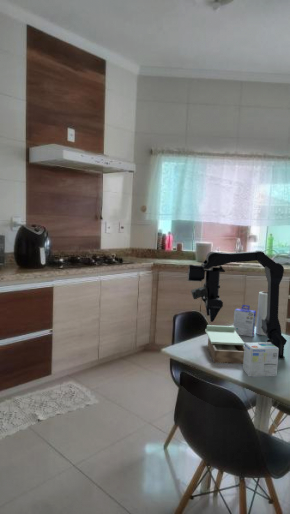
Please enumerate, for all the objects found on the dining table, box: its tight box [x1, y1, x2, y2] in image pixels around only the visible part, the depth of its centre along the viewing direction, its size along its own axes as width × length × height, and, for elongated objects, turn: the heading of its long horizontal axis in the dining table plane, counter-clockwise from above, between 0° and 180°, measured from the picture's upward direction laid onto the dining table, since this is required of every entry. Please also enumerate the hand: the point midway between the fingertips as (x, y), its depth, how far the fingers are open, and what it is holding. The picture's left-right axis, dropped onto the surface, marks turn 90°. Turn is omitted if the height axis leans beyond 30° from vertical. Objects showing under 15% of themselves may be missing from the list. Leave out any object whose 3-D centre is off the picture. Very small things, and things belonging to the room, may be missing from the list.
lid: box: [204, 324, 246, 346], centre depth 149 cm, size 14×17×3 cm
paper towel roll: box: [255, 291, 268, 337], centre depth 172 cm, size 7×6×21 cm
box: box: [207, 337, 245, 365], centre depth 142 cm, size 13×16×5 cm
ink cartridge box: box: [232, 304, 257, 338], centre depth 172 cm, size 10×6×14 cm, turn 64°
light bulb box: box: [242, 341, 279, 378], centre depth 127 cm, size 11×7×11 cm, turn 98°
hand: (209, 318), depth 144 cm, fingers open, 9 cm apart
